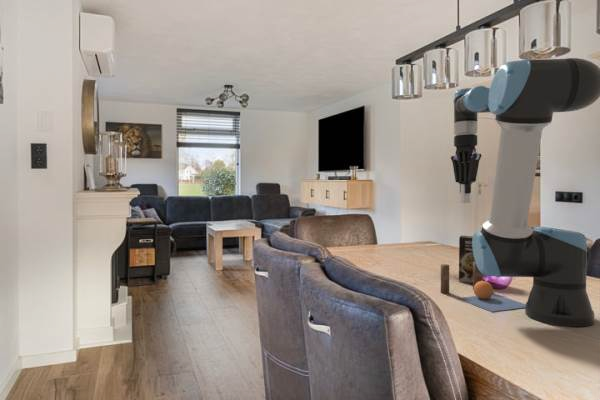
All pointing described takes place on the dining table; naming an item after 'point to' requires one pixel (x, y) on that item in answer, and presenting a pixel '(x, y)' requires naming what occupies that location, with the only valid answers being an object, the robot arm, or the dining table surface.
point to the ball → (483, 290)
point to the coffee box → (466, 259)
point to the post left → (444, 278)
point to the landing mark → (494, 303)
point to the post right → (476, 274)
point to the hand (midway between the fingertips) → (465, 202)
